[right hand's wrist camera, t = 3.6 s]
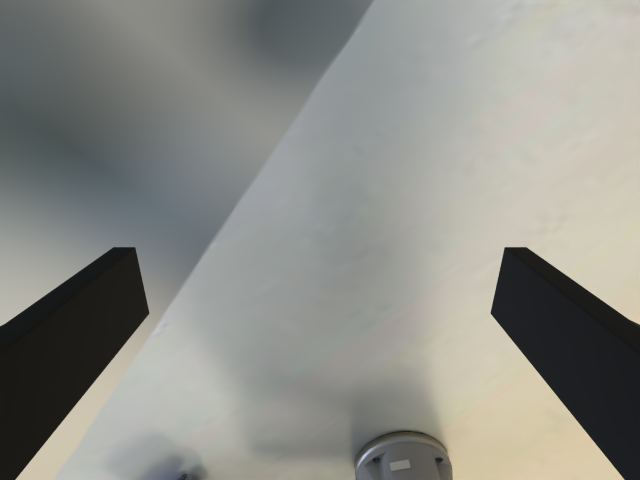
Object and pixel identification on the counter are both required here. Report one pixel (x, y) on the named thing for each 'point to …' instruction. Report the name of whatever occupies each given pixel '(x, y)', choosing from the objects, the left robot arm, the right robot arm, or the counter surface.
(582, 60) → the counter surface
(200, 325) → the counter surface
